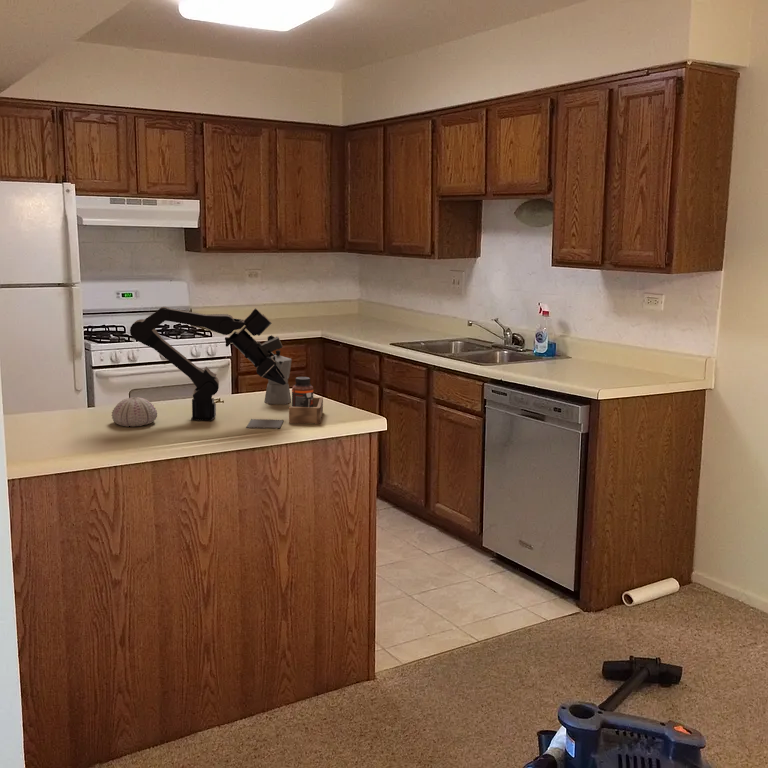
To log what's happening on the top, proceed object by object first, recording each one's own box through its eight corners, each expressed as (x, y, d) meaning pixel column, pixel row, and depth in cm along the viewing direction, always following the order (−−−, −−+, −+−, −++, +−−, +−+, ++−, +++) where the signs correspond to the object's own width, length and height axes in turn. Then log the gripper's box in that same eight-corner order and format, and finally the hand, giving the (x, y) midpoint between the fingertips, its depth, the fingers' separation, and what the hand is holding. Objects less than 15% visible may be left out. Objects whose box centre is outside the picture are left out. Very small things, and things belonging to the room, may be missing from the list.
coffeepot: (294, 405, 282) (295, 353, 278) (266, 406, 279) (266, 353, 276) (287, 396, 296) (287, 346, 293) (261, 397, 294) (261, 346, 291)
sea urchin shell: (113, 430, 243) (112, 403, 242) (110, 419, 255) (109, 394, 254) (160, 427, 248) (159, 401, 247) (154, 417, 260) (154, 392, 259)
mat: (246, 428, 249) (246, 426, 249) (251, 420, 259) (251, 419, 259) (279, 428, 250) (279, 427, 250) (283, 421, 260) (283, 419, 259)
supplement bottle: (315, 419, 263) (315, 379, 260) (293, 420, 261) (294, 380, 258) (310, 414, 269) (311, 375, 267) (290, 415, 267) (290, 376, 265)
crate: (289, 423, 257) (289, 407, 256) (293, 411, 273) (293, 396, 272) (319, 423, 257) (320, 408, 256) (322, 412, 273) (323, 397, 272)
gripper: (267, 332, 249) (304, 368, 253) (266, 324, 267) (300, 358, 271) (241, 358, 249) (278, 394, 253) (241, 348, 267) (276, 382, 271)
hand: (284, 381), depth 262 cm, fingers open, 9 cm apart
